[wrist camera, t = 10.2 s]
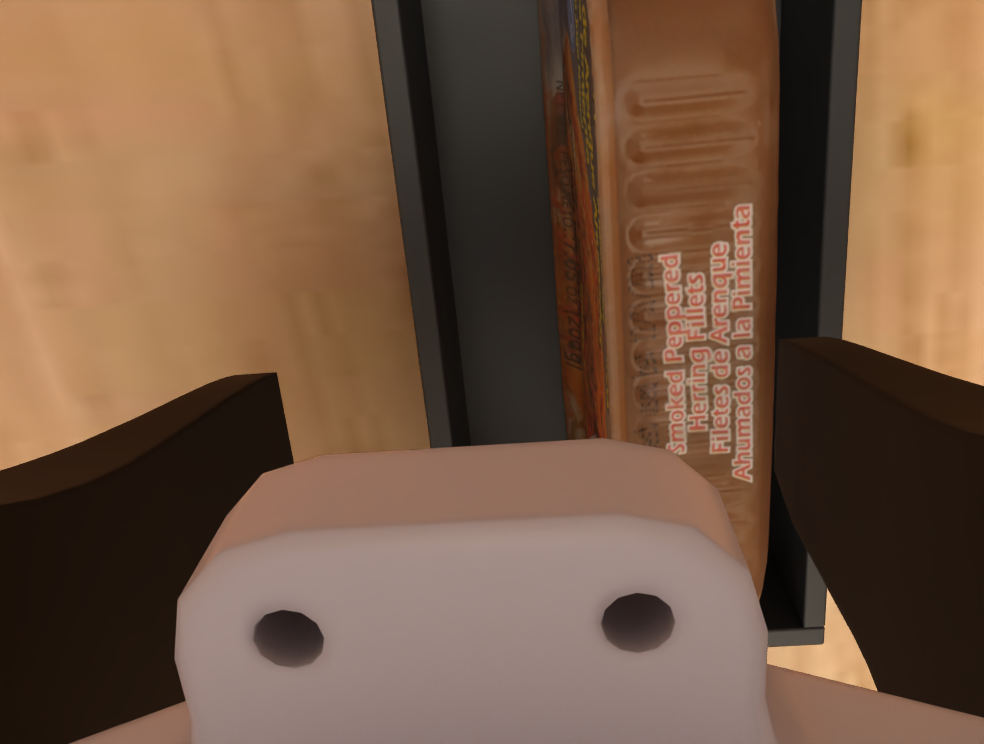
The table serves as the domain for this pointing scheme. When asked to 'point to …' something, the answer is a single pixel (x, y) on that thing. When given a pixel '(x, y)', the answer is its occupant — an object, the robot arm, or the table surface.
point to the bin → (529, 241)
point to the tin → (669, 233)
